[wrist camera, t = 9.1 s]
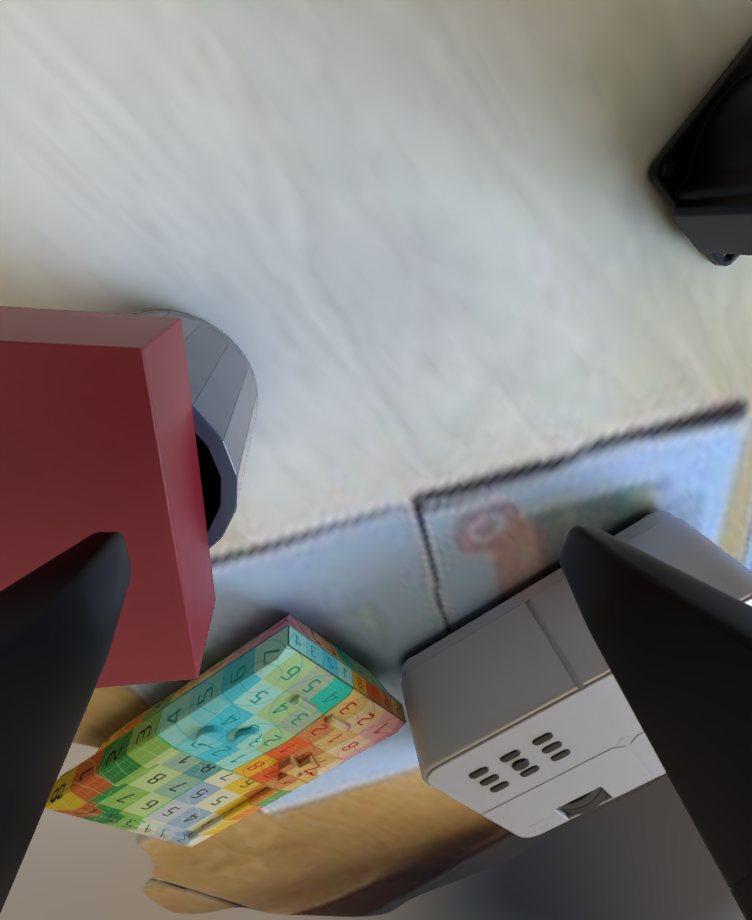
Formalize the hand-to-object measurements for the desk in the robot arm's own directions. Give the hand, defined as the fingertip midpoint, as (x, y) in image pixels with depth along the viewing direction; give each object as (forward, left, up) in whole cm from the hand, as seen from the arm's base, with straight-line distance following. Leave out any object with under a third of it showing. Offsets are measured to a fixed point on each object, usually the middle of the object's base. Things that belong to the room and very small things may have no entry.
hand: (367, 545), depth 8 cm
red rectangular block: (+5, -5, -5) cm, 8 cm away
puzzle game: (+25, +8, -13) cm, 29 cm away
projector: (+9, +27, -13) cm, 31 cm away
